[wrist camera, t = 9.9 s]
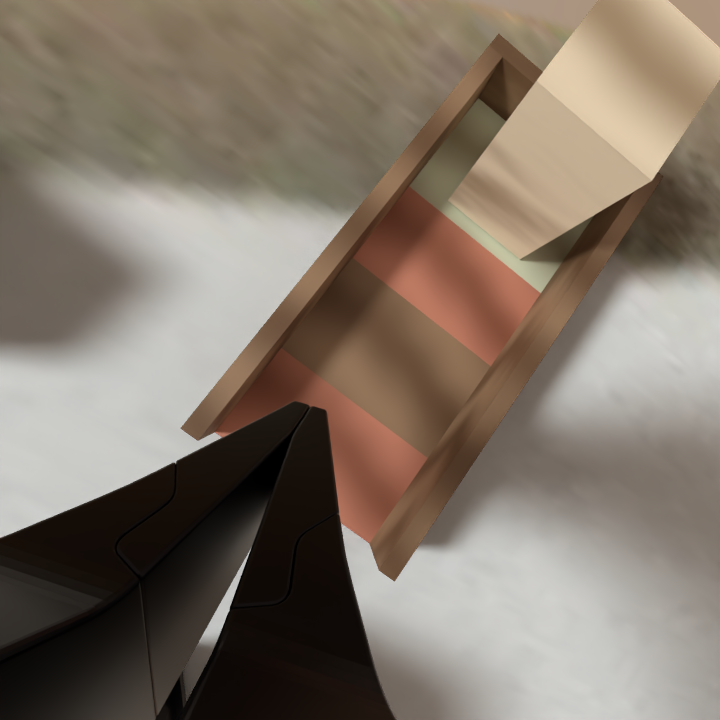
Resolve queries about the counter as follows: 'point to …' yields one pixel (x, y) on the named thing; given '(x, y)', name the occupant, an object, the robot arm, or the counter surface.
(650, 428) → the counter surface
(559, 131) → the sliding block
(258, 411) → the tray
